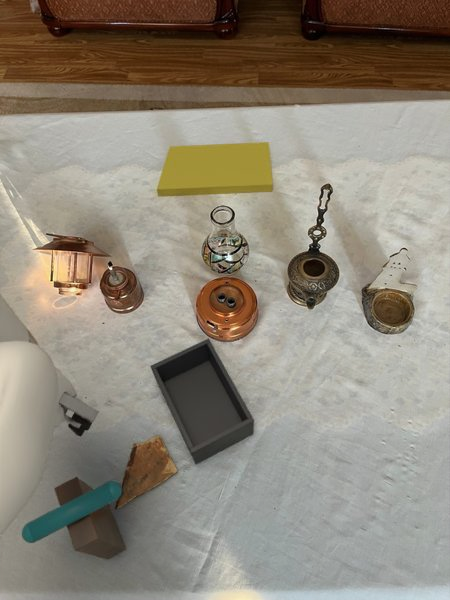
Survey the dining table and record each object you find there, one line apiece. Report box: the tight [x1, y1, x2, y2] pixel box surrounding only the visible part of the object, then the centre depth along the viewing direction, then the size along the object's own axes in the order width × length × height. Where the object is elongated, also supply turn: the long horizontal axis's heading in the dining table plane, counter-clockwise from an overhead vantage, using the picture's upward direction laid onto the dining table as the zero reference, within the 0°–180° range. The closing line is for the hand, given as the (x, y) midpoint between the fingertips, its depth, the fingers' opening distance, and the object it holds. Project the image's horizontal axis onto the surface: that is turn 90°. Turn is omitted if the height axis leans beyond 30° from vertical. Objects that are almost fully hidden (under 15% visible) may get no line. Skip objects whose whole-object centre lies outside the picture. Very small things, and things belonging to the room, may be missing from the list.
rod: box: [21, 480, 122, 544], centre depth 63 cm, size 12×2×2 cm, turn 117°
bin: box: [149, 337, 255, 465], centre depth 84 cm, size 15×10×8 cm
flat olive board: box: [156, 141, 274, 197], centre depth 112 cm, size 12×2×24 cm
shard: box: [114, 435, 179, 510], centre depth 82 cm, size 11×8×2 cm
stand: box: [54, 476, 127, 560], centre depth 71 cm, size 3×8×17 cm, turn 27°
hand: (52, 410), depth 67 cm, fingers open, 9 cm apart
